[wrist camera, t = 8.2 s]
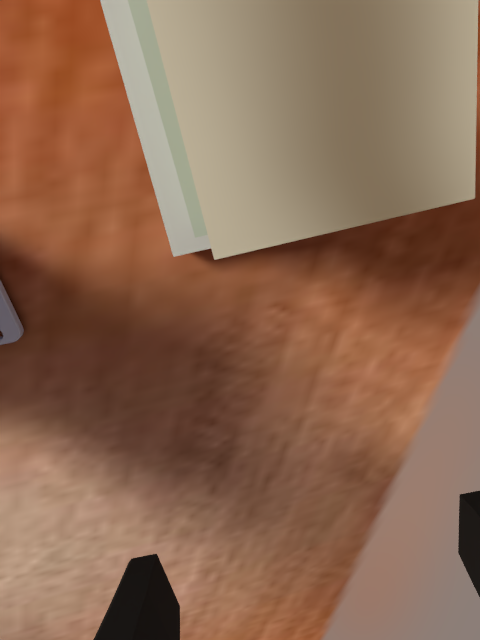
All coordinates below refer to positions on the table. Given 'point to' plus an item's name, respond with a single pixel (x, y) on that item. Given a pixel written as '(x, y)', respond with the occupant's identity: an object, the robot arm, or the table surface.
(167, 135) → the tower top
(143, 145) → the tower base
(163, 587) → the robot arm
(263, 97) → the maple cube
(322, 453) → the table surface
